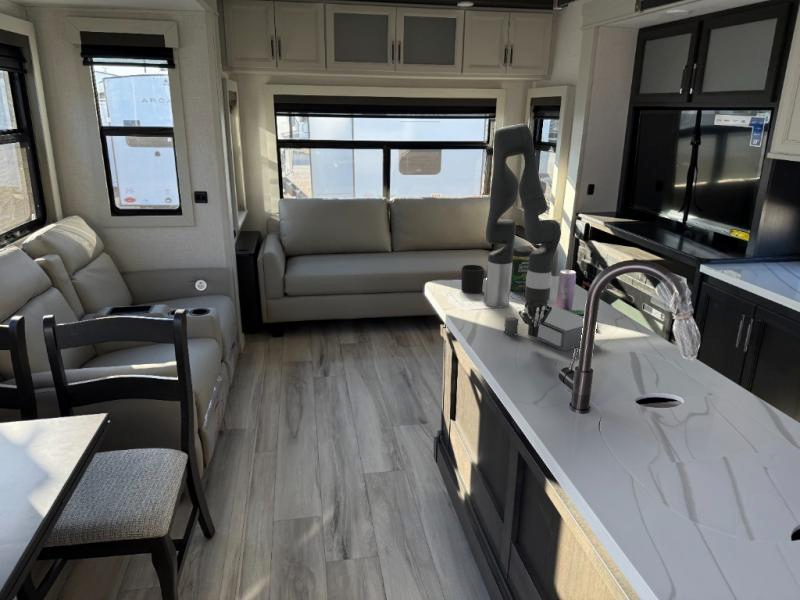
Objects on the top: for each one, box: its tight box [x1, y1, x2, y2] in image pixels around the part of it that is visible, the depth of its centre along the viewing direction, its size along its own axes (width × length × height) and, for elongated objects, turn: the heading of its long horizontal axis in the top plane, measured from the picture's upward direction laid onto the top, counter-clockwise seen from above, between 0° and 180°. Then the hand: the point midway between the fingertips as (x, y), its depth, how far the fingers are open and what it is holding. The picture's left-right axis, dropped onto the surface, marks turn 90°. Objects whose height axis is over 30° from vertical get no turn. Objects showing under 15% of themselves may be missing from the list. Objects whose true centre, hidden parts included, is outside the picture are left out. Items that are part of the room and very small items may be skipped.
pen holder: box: [460, 264, 485, 295], centre depth 232 cm, size 9×9×10 cm
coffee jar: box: [510, 245, 534, 292], centre depth 234 cm, size 10×8×19 cm
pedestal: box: [503, 316, 519, 336], centre depth 190 cm, size 4×4×5 cm
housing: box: [527, 307, 584, 352], centre depth 185 cm, size 16×14×7 cm
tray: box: [537, 324, 563, 346], centre depth 185 cm, size 13×13×4 cm
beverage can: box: [555, 269, 577, 310], centre depth 211 cm, size 6×6×15 cm
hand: (533, 336), depth 178 cm, fingers closed
